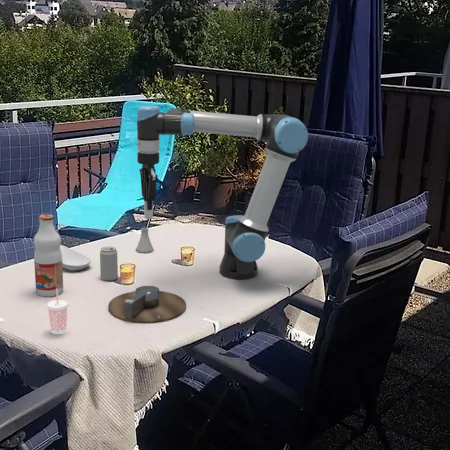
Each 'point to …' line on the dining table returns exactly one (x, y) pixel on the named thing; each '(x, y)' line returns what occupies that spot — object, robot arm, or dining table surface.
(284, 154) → the robot arm
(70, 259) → the spoon rest
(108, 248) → the beverage can
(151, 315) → the dial board
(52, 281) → the fruit juice
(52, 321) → the beverage cup
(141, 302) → the dial
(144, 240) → the flask
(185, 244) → the dining table surface
